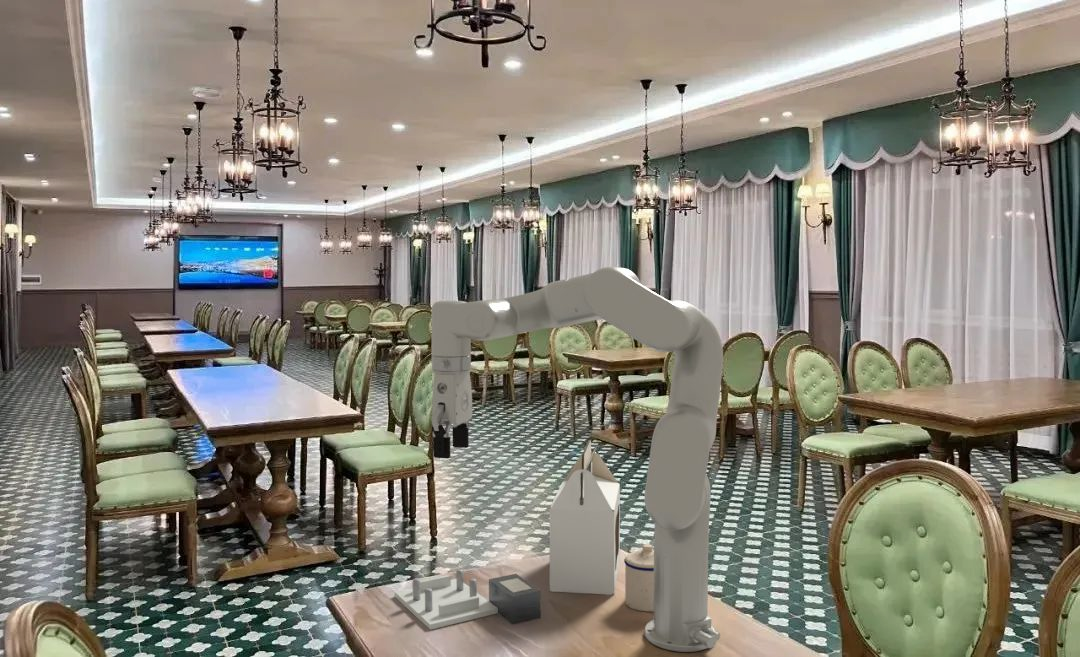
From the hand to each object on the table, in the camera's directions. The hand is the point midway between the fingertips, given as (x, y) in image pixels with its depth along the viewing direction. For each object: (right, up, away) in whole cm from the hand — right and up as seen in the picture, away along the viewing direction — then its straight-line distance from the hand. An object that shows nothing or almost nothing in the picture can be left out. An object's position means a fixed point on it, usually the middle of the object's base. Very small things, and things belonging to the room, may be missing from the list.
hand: (451, 452), depth 156 cm
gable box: (+27, -30, +18) cm, 44 cm away
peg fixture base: (-1, -30, +2) cm, 30 cm away
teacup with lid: (+38, -30, +4) cm, 49 cm away
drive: (+12, -31, -1) cm, 33 cm away
